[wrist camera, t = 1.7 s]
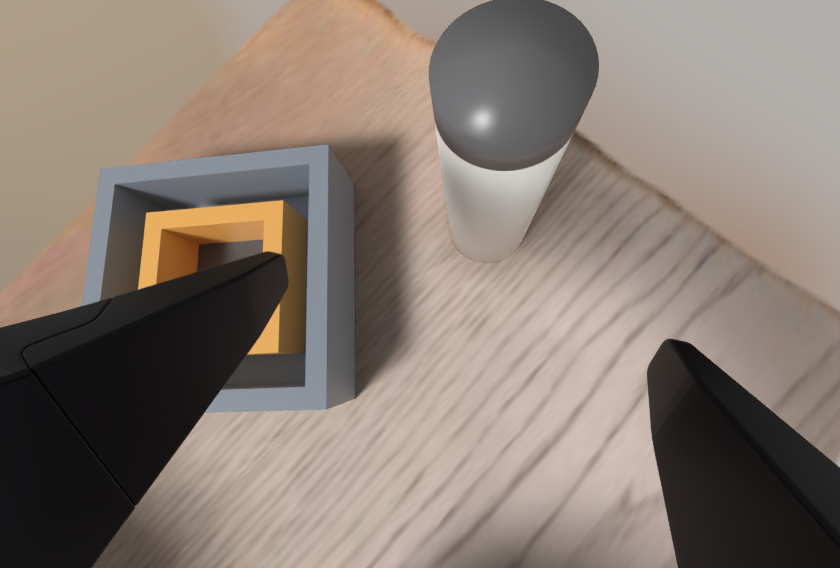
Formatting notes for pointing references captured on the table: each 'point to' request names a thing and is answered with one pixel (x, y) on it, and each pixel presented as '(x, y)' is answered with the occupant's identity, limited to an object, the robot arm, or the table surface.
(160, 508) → the table surface
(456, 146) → the grey capped shaker bottle
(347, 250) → the box
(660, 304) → the table surface
